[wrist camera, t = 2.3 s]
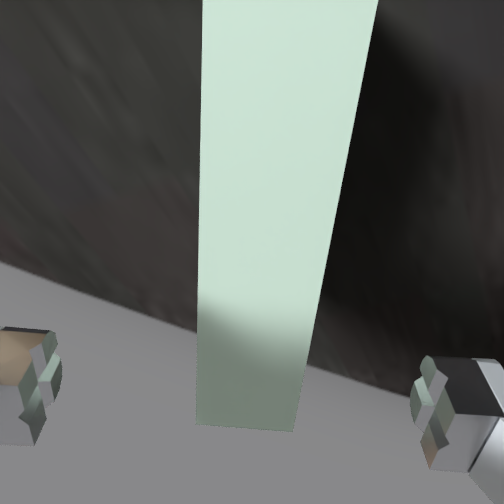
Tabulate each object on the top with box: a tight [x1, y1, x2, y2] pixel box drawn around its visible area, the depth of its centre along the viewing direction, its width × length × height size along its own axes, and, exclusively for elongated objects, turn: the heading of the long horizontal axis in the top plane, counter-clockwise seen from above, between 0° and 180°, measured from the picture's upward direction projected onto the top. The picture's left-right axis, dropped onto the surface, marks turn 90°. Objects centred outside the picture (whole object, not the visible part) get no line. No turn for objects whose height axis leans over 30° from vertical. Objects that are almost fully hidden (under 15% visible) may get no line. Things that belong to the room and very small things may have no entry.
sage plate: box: [196, 0, 378, 432], centre depth 19 cm, size 4×14×13 cm, turn 176°
